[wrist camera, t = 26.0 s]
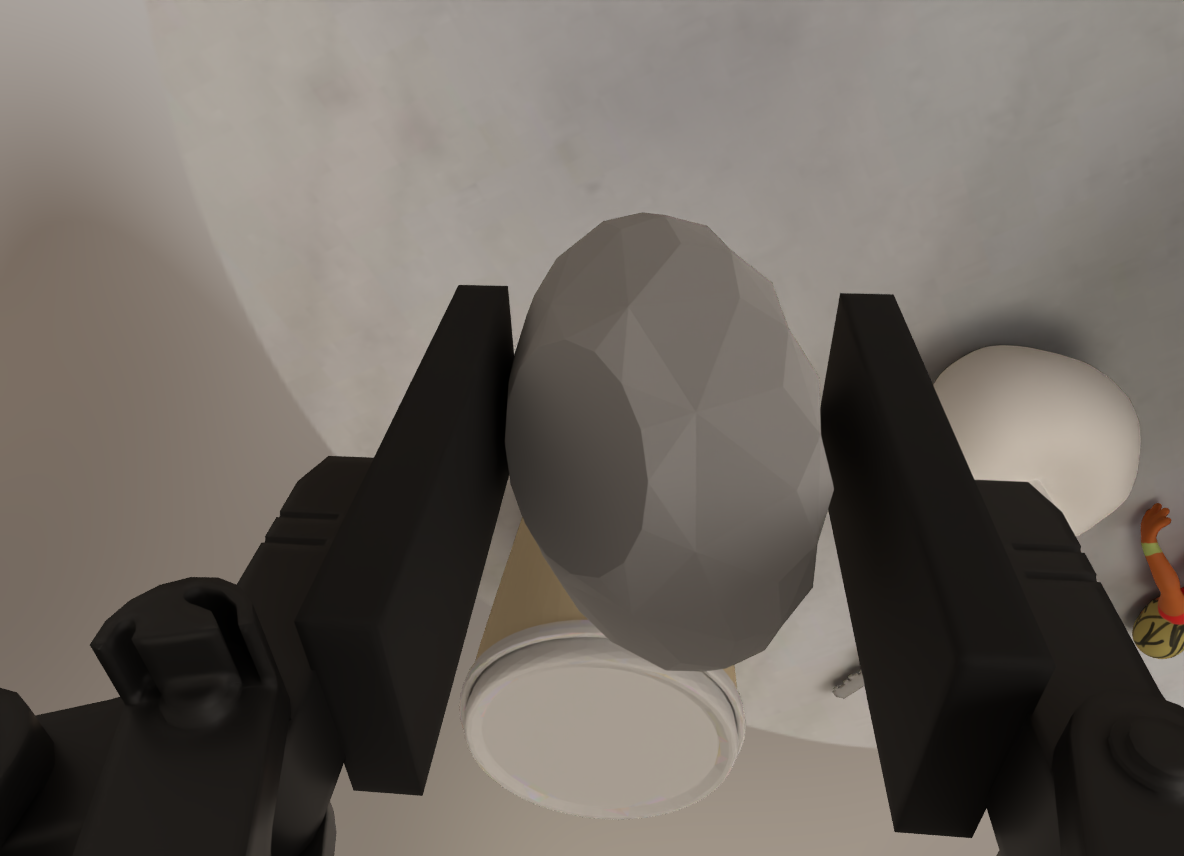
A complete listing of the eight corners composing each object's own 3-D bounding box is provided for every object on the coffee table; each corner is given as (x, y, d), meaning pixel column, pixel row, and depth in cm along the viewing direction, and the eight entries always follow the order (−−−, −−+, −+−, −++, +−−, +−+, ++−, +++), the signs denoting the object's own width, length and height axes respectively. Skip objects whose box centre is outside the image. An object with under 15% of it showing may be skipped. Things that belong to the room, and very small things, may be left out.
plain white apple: (872, 458, 33) (917, 608, 27) (919, 301, 29) (986, 434, 23) (1048, 472, 33) (1136, 628, 27) (1121, 316, 29) (1247, 455, 22)
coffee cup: (507, 559, 39) (449, 802, 29) (524, 395, 33) (459, 629, 23) (703, 590, 39) (710, 843, 29) (752, 432, 33) (781, 680, 24)
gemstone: (896, 680, 13) (658, 809, 10) (651, 470, 17) (430, 517, 14) (1092, 317, 10) (842, 345, 7) (742, 168, 14) (487, 146, 11)
